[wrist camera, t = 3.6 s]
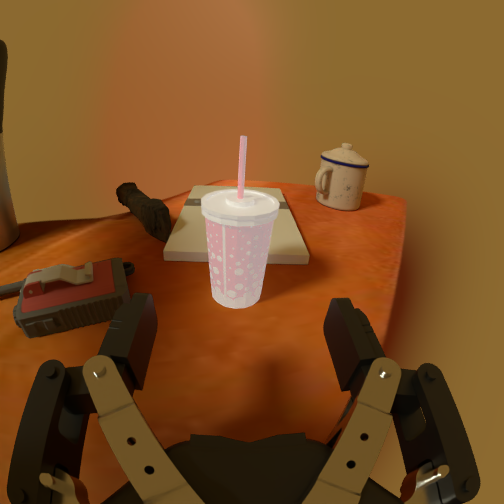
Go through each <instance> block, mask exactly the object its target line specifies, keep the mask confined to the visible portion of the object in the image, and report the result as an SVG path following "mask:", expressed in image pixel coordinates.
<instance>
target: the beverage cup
mask: <svg viewBox="0 0 504 504" xmlns="http://www.w3.org/2000/svg"><path fill="white" fill-rule="evenodd" d="M246 144H247V136H241V137H240V153H239V172H238V173H239V174H238V189H224V190H218V191H214V192H211V193H208V194H206V195H205V196H204V197H203V198H201V208H202V215H204V216H205V222H206V234H207V246H208V257H209V268H210V278H211V287H212V296H213V298H214V299H215V300H216V302H218V303H219V304H221V305H223V306H225V307H230V308H246V307H248V306H251V305H253V304H255V303H256V302H257V301H258V300H259V298H260V295H261V290H262V285H263V279H264V274H265V268H266V263H267V257H268V251H269V246H270V240H271V235H272V229H273V223H274V219H276V218H277V215H278V209H279V206H280V203H279V202H278V200H277V199H276V198H275V197H273V196H271V195H269V194H267V193H263V192H259V191H256V190H248V189H244V179H245V162H246Z"/></svg>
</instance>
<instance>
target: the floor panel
mask: <svg viewBox="0 0 504 504" xmlns="http://www.w3.org/2000/svg"><path fill="white" fill-rule="evenodd" d="M224 189H238V187H235V186H194V187H193V189H192V191H191V193H190V195H189V197H188V198H187V200H186V202H185V204H184V207H183V209H182V211H181V213H180V215H179V217H178V220H177V222H176V224H175V226H174V228H173V230H172V232H171V235H170V237H169V239H168V241H167V243H166V246H165V248H164V250H163V254H164V260H165V261H194V262H209V257H208V246H207V234H206V222H205V216H204V215H202V208H201V198H203V197H204V196H205V195H206V194H208V193H211V192H214V191H218V190H224ZM244 189H248V190H256V191H259V192H263V193H267V194H269V195H271V196H273V197H275V198H276V199H277V200H278V202H279V203H280V206H279V209H278V215H277V218H276V219H274V223H273V229H272V235H271V240H270V246H269V251H268V257H267V263H266V264H307V265H308V261H309V256H310V255H309V253H308V250H307V248H306V246H305V243H304V241H303V239H302V237H301V234H300V232H299V230H298V228H297V225H296V223H295V221H294V219H293V216H292V214H291V212H290V210H289V207H288V205H287V203H286V201H285V199H284V197H283V195H282V193H281V191H280V189H277V188H259V187H244Z"/></svg>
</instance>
